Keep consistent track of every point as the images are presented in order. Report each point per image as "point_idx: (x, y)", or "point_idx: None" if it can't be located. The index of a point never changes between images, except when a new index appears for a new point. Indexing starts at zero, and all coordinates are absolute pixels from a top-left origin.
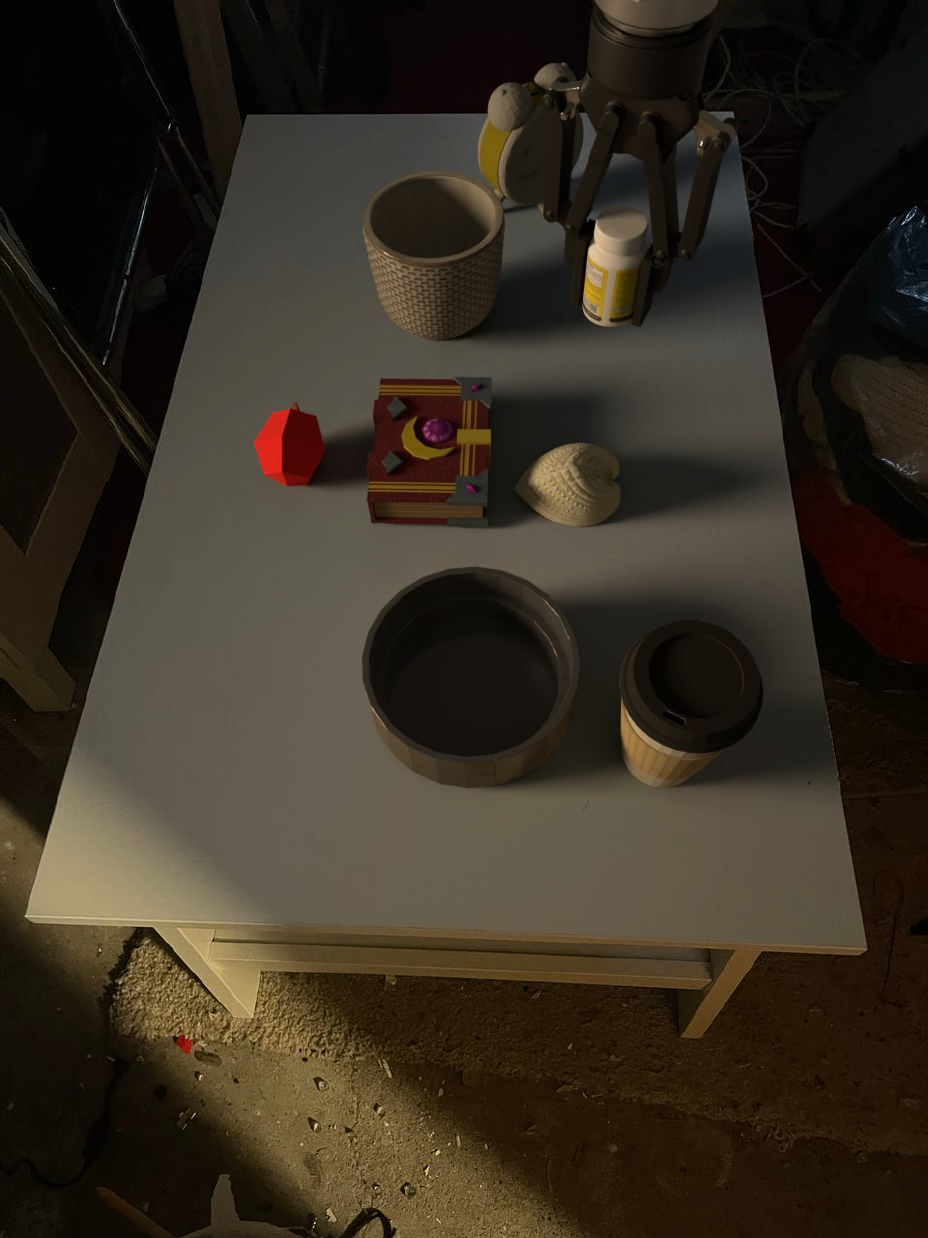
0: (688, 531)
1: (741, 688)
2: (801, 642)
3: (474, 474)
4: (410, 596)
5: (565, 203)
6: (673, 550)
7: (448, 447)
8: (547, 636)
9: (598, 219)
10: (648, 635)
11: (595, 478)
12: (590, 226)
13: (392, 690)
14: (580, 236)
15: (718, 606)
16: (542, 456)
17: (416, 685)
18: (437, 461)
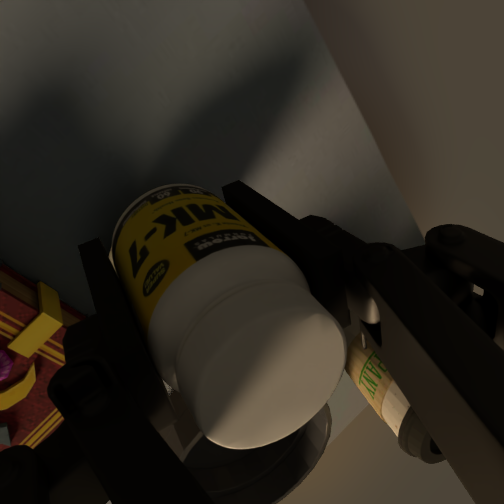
0: (278, 175)
1: None
2: (397, 192)
3: None
4: None
5: (69, 501)
6: (278, 204)
7: (25, 366)
8: None
9: (214, 436)
10: (423, 440)
11: None
12: (141, 377)
13: (187, 462)
14: (150, 419)
15: (335, 218)
16: (111, 258)
17: (198, 447)
18: (35, 386)
